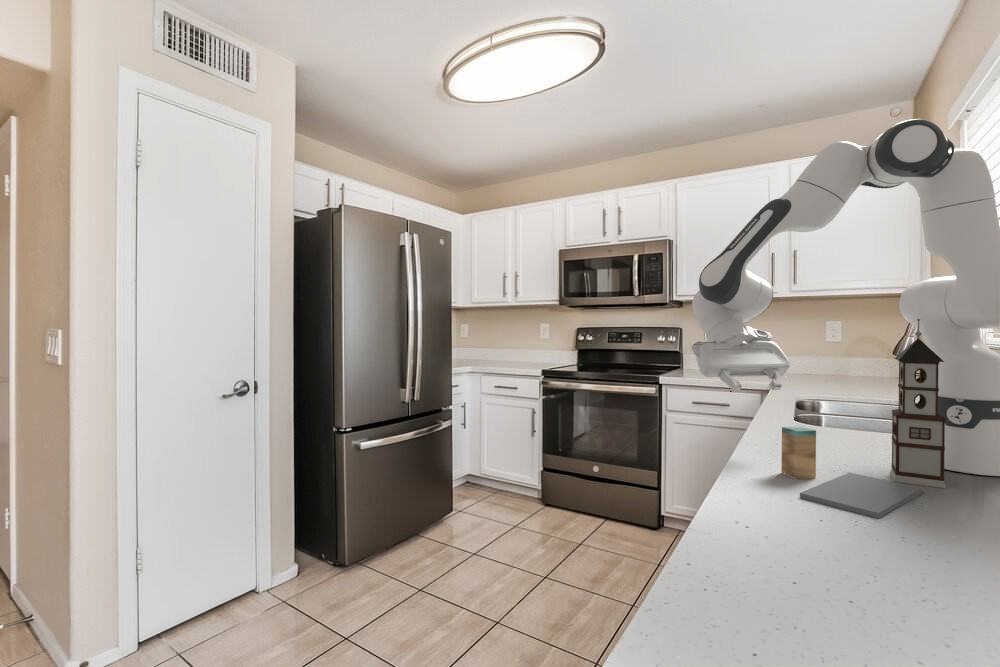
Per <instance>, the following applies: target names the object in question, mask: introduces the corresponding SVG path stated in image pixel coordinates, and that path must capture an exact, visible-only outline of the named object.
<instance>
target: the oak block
mask: <svg viewBox="0 0 1000 667" xmlns="http://www.w3.org/2000/svg"><path fill="white" fill-rule="evenodd" d="M816 466H817V430H816V429H812V428H808V427H804V426H799V425H796V426H781V469H780V470H781V472H782V473H781V474H783V473H785V474H787V475H786V476H788V475H789V476H788V477H790V476H792V477H794V478H793V479H795V478H796V479H795V480H803V479H802V478H810V479H816V478H817V477H816V474H817V472H816V471H817V469H816V468H817V467H816ZM785 474H784V475H785ZM792 477H791V478H792Z"/></svg>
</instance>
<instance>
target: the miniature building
mask: <svg viewBox="0 0 1000 667" xmlns="http://www.w3.org/2000/svg"><path fill="white" fill-rule="evenodd" d="M917 321H918V330H917V331H916V332H915V333H914V335H915V336H917V337H916V339H915V340H914V341H913V342H912V343H911V344H909V345H908V346H907V347H906V348H905V349H903V350H902V351H901V352H900V353H899V354H897V356H895V357H894V360H896V361H898V385H897V387H898V408H896V409H891V416H892V417H891V418H892V422H891V423H892V424H891V427H892V428H891V431H892V432H891V470H890V471H889V474H890V476H891V479H892V481H893V482H897V483H902V484H908V485H919V486H926V487H933V488H940V489H947V487H946V486H947V485H945V469H944V451H945V447H944V444H945V422H946V419H945V418H944V417H943V416H941V415H940V414H938V391H939V388H938V364H939V362H944V361H943V360H942V359H941V358H940V357H939V356H937V355H936V354H935V353H934V352H933V351H932V350H931V349H930V348H929V347H928V346H927V345H926V343H925V342H924V341H922V340H921V339H920V338H921V337H922V336H921V334H922V333H921V332H919V321H920V319H917ZM918 371H919V372H918ZM917 377H918V378H917ZM917 397H919V401H917V403H916V399H917Z"/></svg>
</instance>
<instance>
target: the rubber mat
mask: <svg viewBox="0 0 1000 667" xmlns="http://www.w3.org/2000/svg"><path fill="white" fill-rule="evenodd" d="M923 490H924V488H923V487H921V486H916V485H913V484H908V483H902V482H894V481H893V480H892V481H891V480H886V479H882V478H877V477H873V476H869V475H863V474H858V473H853V472H847V473H845V474H842V475H839V476H837V477H835V478H832V479H830V480H828V481H825V482H823V483H820V484H818V485H816V486H813V487H810V488H808V489H806V490H804V491H803V490H802V491H801V492H800V493H799V498H800V499H803V500H807V501H812V502H815V503H819V504H823V505H827V506H831V507H835V508H838V509H842V510H845V511H850V512H853V513H857V514H860V515H865V516H868V517H873V518H876V519H880V518H882V517H884V516H885V515H887V514H888V513H890V512H892V511H893V510H896V509H897V508H899V507H900V506H902V505H904V504H905V503H907V502H909V501H910V500H912V499H914V498H916V497H918V496H919V495H921V494H922V493H924V491H923Z"/></svg>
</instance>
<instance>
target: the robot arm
mask: <svg viewBox="0 0 1000 667" xmlns="http://www.w3.org/2000/svg"><path fill="white" fill-rule="evenodd" d="M950 148H951V149H950ZM906 183H908V184H909V185H911V186H912V187H913V188H914V189H915V191H916V192H917V195H918V198H919V205H920V206H919V207H920V215H921V223H922V224H921V225H922V229H923V230H922V231H923V238H924V239H923V240H924V245H925V248H926V250H927V251H928V253H930V254H931V255H933V256H936V257H938V258H941V259H943V260H944V261H945V262H946V263H947V264H948V265H949V267H950V268H951V269H952V272H953V274H954V275H949V276H948V275H947V276H939V277H938V276H937V277H932V278H929V279H924V280H921V281H917V282H915V283H912V284H910V285H908V286H907V287H906V288H904V290H903V291H902V293H901V295H900V298H899V306H898V307H899V312H900V313H901V315H902V317H903V319H905V320H906V322H908V323H909V324H911V325H912V326H913V327H914V328H915V329H916V330H917V331H918V321H917V319H920V321H919V332H921V333H922V334H921V336H920V337H922V339H923V342H924V344H925V345H927V346H928V347H929V348H930V349H931V350H932V351H933V352H934V353H935V354H936V355H937V356H939V357H940V358H941V359H942V360H943V361H944V362H939V364H938V388H939V391H938V414H940V415H941V416H943V417H944V418H945V419H946V422H945V444H944V447H945V451H944V470H948V471H953V472H959V473H965V474H973V475H981V476H992V477H1000V353H998V352H996V351H995V350H993V349H990V348H989V347H988V345H986V344H985V343H984V340H982V338H981V336H980V332H979V329H985V330H986V329H991V330H992V329H997V330H998V329H1000V222H999V217H998V211H997V204H996V203H997V202H996V196H995V189H994V185H993V180H992V177H991V173H990V171H989V168H988V165H987V162H986V160H985V158H984V156H983V154H982V153H981V152H979V151H977V150H975V149H971V148H955V145H954V143H953V142H952V141H951V140H950V139H949V138H948V137H947V136H946V135H945V133H944V132H943V129H941V128H940V126H938V125H937V124H935V122H932V121H931V120H927V119H922V118H913V119H912V118H911V119H908V120H903V121H901V122H897V123H896V124H894V125H892V126H891V127H889V128H887V129H886V131H884V132H883V133H881V134H880V135H878V137H876V139H875V140H874V141H873V142H872V143H869V144H868V145H858V144H856V143H853V142H850V141H835V142H833V143H832V142H831V143H830V144H828V145H826V146H825V147H824V148H822V150H821V151H820V152H819V153H818V154H817V155H816V156H815V157H814V158H813V159H812V161H810V163H809V164H808V165H807V166H806V167H805V168H804V170H803V171H802V172H801V173H800V174H799V176H798V178H797V179H796V180H795V181H794V183H793V184H792V185H791V187H790V188H789V189H788V190H787V191H786V192H785V193H784V194H783V195H782V196H780V197H778V198H775V199H773V200H770V201H769V202H768V203H766V204H764V206H763V207H762V208H760V210H758V211H757V213H756V214H755V215H754V216H753V217H752V218H751V219H750V220H749V221H748V223H746V224H745V226H744V227H743V228H742V229H741V230H740V231H739V233H738V234H737V235H736V236H735V237H734V238H733V239H732V240H731V241H730V243H729V244H728V245H727V246H726V247H725V248H724V249H723V251H721V253H719V254H718V255H717V256H716V257H715V258H713V259H712V260H711V261H710V262H708V264H706V266H705V267H704V268H703V269H702V270H701V273H700V275H699V278H698V288H699V289H698V291H697V292H696V293H695V294H694V296H693V299H692V301H691V302H692V303H691V304H692V306H691V307H692V312H693V315H694V317H695V319H696V322H697V324H698V325H699V328H700V329H701V331H702V332H704V333H705V339H706V341H696V342H695V343H693V344H692V345H691V350H692V352H693V354H694V355H695V358H696V359H695V360H696V363H697V366H698V369H699V372H700V373H701V375H702V376H704V377H706V378H720V380H721V381H722V382H723V383H725V384H726V385H728V386H729V388H730V390H731V391H732V392H740V391H741V389H742V384H741V381H740V380H739V379H735V377H743V378H744V377H767V378H768V379H769V380H771V382H770V383H769V384H768V385H769V387H770V389H771V390H772V391H780V390H781V389H782V388H783V385H782V382H781V380H780V377H782V376H784V375H785V374H786V373H787V371H788V370H789V369H790V367H791V363H790V360H789V358H788V357H787V355H786V353H785V352H784V350H782V348H781V347H780V346H779V345H778V344H777V343H776V342H775V341H772V339H773V335H772V334H771V333H770V332H769V331H765V330H760V329H758V328H757V329H756V328H754V327H751V326H748V325H745V324H747V323H749V322H750V321H752V320H754V319H756V318H757V317H758V316H760V315H762V314H763V313H764V312H766V311H767V310H768V309H769V307H770V306H771V304H772V301H773V298H774V290H773V289H774V287H773V286H772V284H771V283H770V282H769V281H767V280H765V279H764V278H762V277H761V276H759V275H758V274H756V273H753V272H751V271H749V270H748V269H747V266H748V264H749V263H750V262H751V261H752V260H753V259H754V258H755V256H756V255H757V254H759V252H760V251H761V250H762V249H763V248H764V246H765V245H767V243H768V242H769V241H770V240H771V239H773V237H775V236H776V235H777V236H778V235H779V234H780V233H785V232H787V233H788V232H795V233H810V232H814V231H818V230H821V229H823V228H825V227H826V226H827V225H829V224H830V223H831V222H832V221H833V220H834V219H835V218H836V217H837V215H838V214H839V213H840V211H841V210H842V209H843V207H844V206H845V205H846V203H847V202H848V200H849V199H850V197H851V196H852V195H853V193H854V192H855V191H856V190H858V189H859V187H860V186H863V187H864V186H865V187H871V188H875V189H891V188H895V187H896V188H897V187H898V186H902V185H903V184H906Z"/></svg>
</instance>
